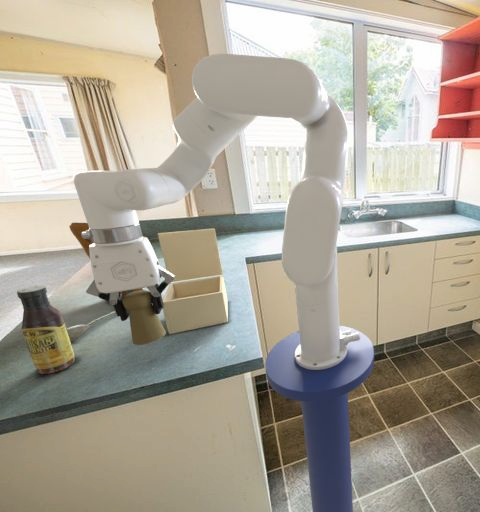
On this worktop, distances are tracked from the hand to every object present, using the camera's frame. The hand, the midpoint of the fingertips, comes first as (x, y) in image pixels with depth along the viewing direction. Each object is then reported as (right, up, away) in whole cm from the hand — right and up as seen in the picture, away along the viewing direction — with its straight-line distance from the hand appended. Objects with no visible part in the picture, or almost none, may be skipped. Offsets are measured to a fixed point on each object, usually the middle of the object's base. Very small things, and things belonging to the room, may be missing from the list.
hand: (142, 313), depth 65 cm
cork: (0, -6, +2) cm, 6 cm away
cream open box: (-3, -6, +26) cm, 27 cm away
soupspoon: (-30, -8, +22) cm, 38 cm away
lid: (-6, +13, +27) cm, 30 cm away
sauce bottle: (-23, -13, +4) cm, 27 cm away
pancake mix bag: (-35, -3, +36) cm, 50 cm away
